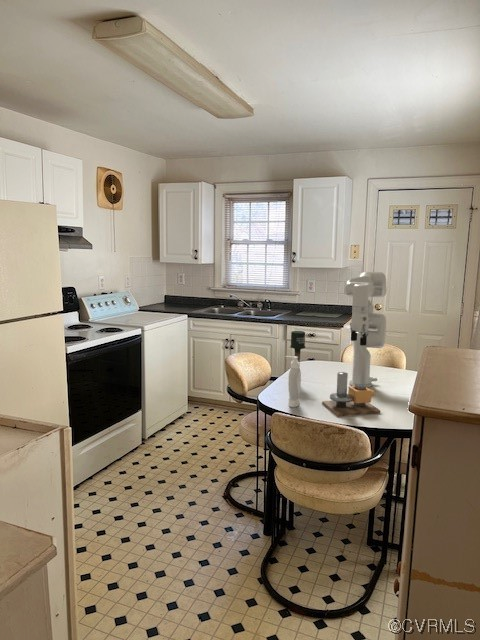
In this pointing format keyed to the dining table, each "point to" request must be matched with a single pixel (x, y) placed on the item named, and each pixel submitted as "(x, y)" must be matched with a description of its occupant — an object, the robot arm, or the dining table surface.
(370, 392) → the orange open box
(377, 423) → the dining table surface
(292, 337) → the potato masher grenade
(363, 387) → the dark gray block
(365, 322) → the robot arm
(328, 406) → the base plate
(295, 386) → the soap bottle
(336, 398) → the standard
